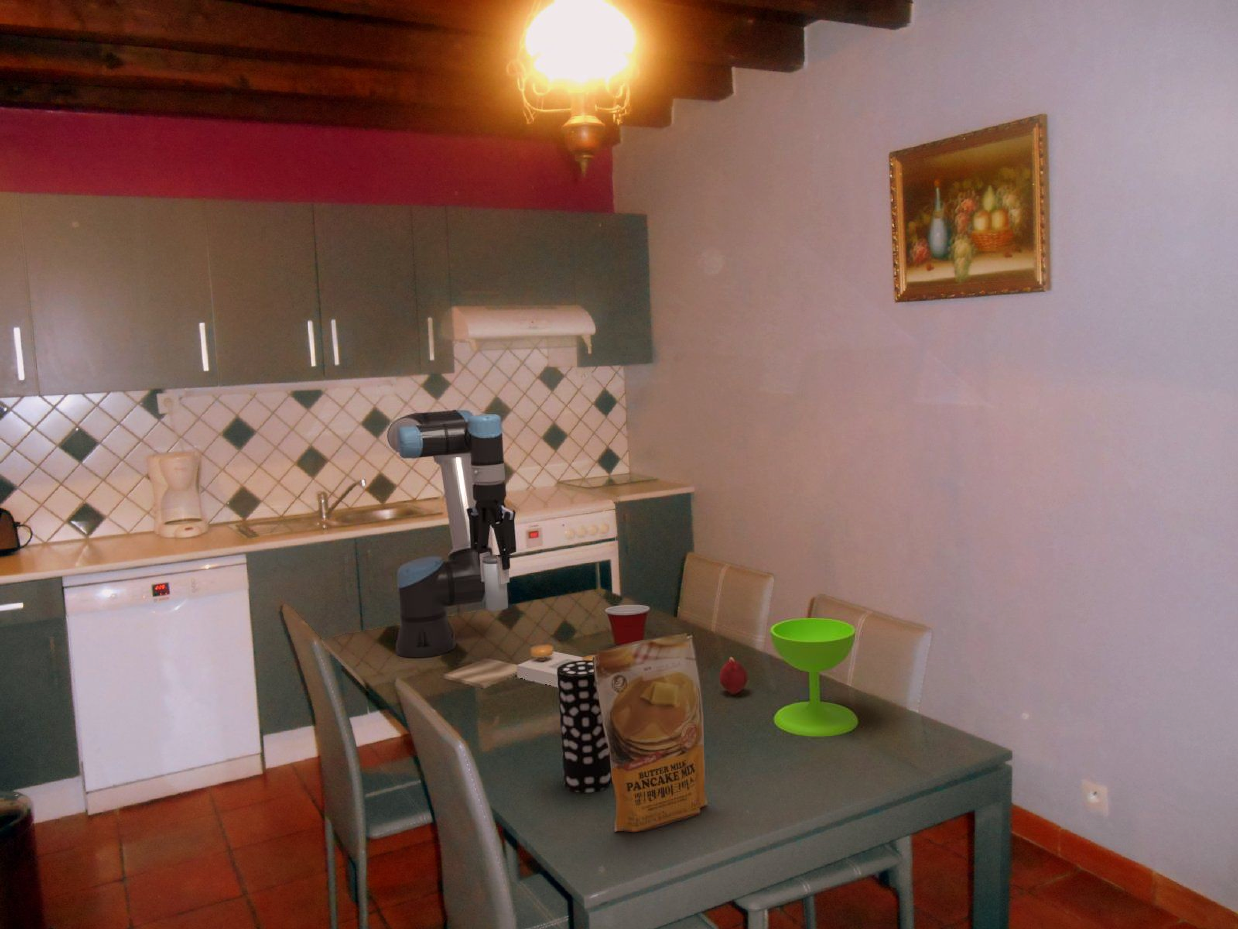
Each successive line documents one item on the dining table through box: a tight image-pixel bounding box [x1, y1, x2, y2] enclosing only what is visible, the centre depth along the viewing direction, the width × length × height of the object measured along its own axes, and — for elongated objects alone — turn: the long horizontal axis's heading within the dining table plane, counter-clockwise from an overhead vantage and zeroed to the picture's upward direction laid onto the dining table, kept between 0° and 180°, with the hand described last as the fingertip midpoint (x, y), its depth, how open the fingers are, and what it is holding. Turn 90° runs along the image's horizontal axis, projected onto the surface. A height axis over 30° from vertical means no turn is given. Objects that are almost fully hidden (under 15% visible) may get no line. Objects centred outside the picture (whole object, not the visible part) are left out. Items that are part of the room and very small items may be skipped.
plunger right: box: [582, 654, 596, 660], centre depth 208 cm, size 5×5×4 cm
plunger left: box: [530, 644, 554, 663], centre depth 218 cm, size 5×5×4 cm
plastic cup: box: [604, 604, 651, 647], centre depth 227 cm, size 11×11×12 cm
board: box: [442, 657, 518, 689], centre depth 219 cm, size 14×14×1 cm
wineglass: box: [769, 617, 859, 738], centre depth 180 cm, size 16×16×18 cm
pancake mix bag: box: [592, 631, 708, 833], centre depth 144 cm, size 7×19×28 cm, turn 116°
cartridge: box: [483, 554, 509, 612], centre depth 216 cm, size 5×5×12 cm
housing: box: [516, 650, 583, 688], centre depth 213 cm, size 21×12×3 cm, turn 51°
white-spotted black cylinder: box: [557, 660, 613, 794], centre depth 158 cm, size 8×8×20 cm
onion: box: [718, 656, 748, 696], centre depth 196 cm, size 6×6×8 cm
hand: (495, 581), depth 216 cm, fingers closed on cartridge, 5 cm apart
